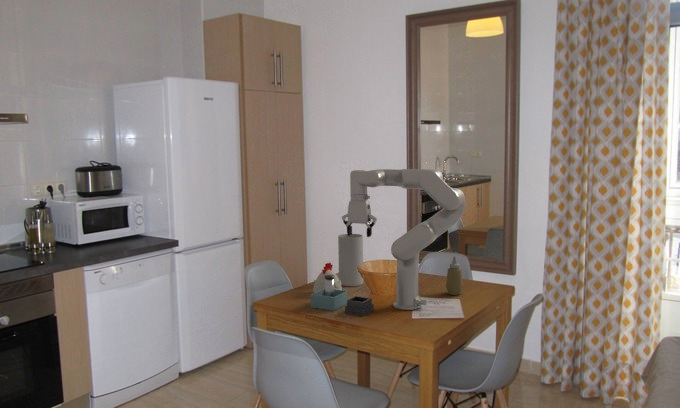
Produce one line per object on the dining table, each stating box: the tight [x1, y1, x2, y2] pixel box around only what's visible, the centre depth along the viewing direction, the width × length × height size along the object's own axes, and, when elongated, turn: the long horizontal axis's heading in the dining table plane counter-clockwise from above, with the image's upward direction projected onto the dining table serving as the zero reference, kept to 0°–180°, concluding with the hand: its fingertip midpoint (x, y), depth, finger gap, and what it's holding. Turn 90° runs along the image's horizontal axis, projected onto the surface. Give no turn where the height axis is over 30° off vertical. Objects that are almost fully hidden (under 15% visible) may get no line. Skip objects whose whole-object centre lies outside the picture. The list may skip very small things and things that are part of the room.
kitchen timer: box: [312, 262, 343, 294], centre depth 268 cm, size 14×14×15 cm
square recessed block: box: [344, 295, 375, 317], centre depth 239 cm, size 9×9×6 cm
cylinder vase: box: [337, 233, 364, 287], centre depth 286 cm, size 12×12×25 cm
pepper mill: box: [324, 275, 334, 297], centre depth 248 cm, size 5×5×13 cm
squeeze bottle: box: [445, 255, 464, 296], centre depth 265 cm, size 8×8×18 cm
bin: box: [310, 288, 349, 312], centre depth 249 cm, size 12×12×6 cm
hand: (359, 235), depth 252 cm, fingers open, 9 cm apart
